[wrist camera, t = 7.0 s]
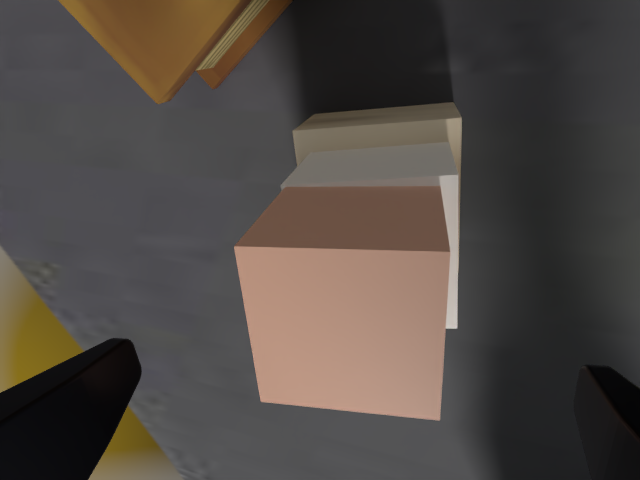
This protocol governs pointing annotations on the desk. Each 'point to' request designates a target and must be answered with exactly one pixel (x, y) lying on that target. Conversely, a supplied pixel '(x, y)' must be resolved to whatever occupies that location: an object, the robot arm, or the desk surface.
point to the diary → (176, 37)
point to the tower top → (392, 184)
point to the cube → (349, 298)
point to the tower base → (382, 131)
